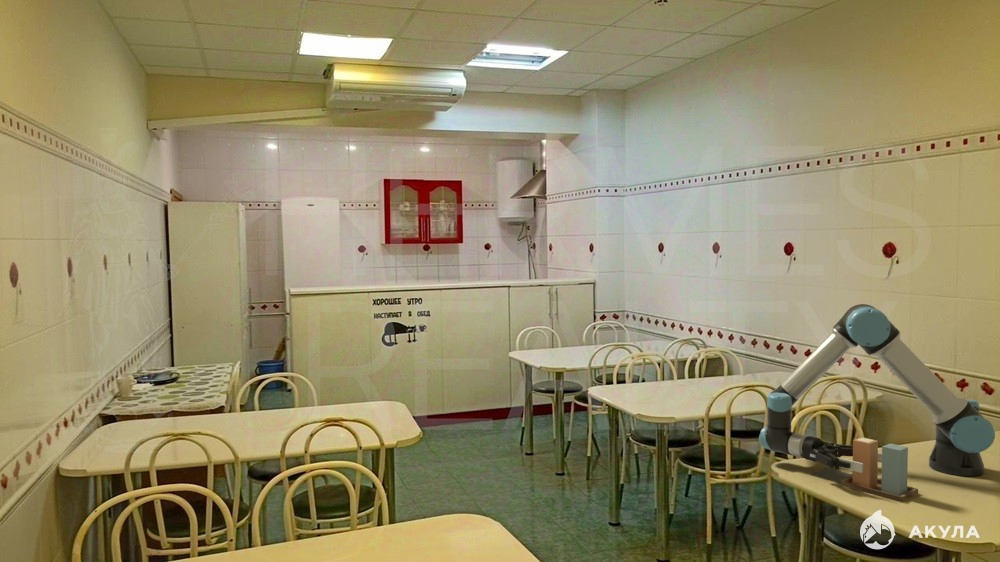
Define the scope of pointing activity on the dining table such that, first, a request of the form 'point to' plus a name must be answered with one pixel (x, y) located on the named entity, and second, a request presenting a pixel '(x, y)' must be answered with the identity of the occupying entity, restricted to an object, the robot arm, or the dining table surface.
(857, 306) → the robot arm
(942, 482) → the dining table surface
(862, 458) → the rust box
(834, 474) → the mat
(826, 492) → the dining table surface
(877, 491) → the tray
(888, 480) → the slate box
